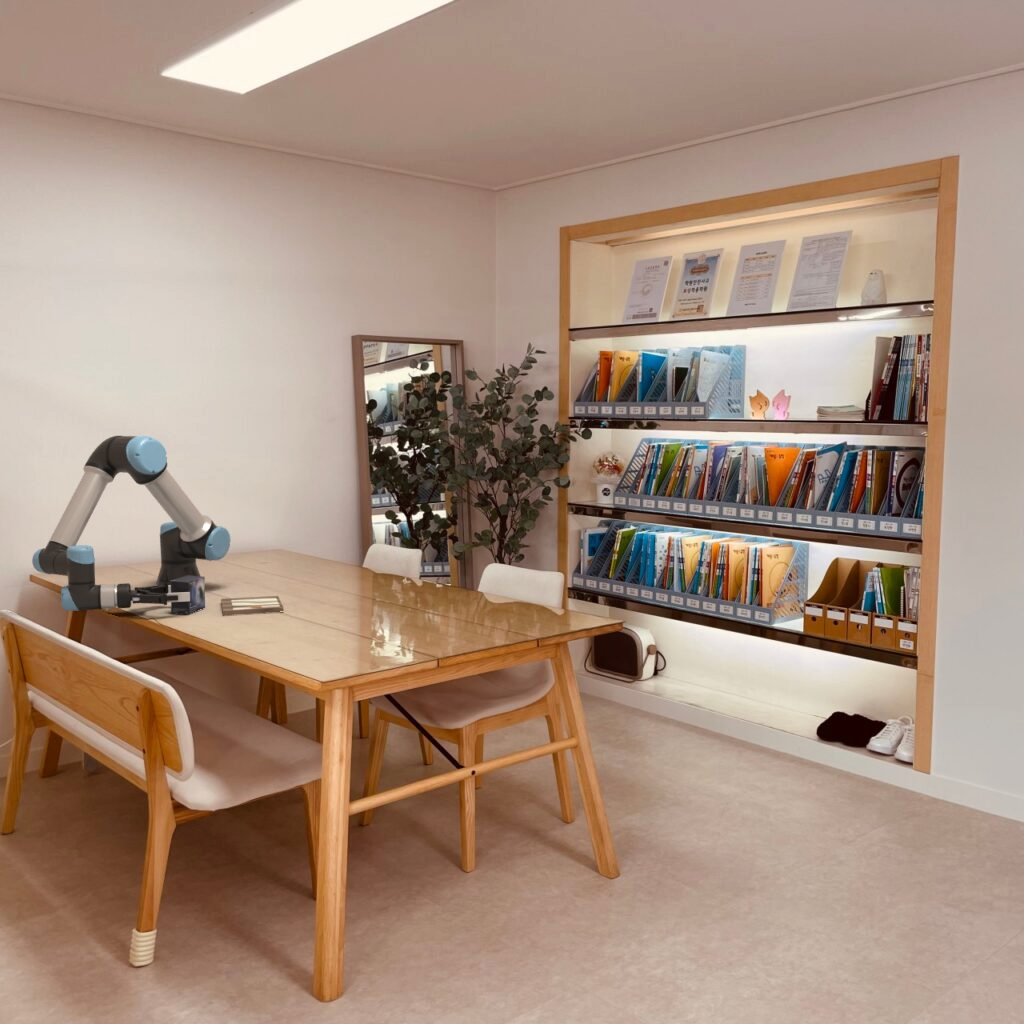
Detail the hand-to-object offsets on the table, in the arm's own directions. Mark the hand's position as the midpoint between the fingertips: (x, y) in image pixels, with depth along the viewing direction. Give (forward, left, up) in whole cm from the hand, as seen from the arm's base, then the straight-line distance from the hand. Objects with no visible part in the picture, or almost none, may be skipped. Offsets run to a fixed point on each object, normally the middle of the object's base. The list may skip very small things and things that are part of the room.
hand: (190, 592), depth 324 cm
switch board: (0, +18, -6) cm, 19 cm away
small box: (0, -1, -6) cm, 6 cm away
